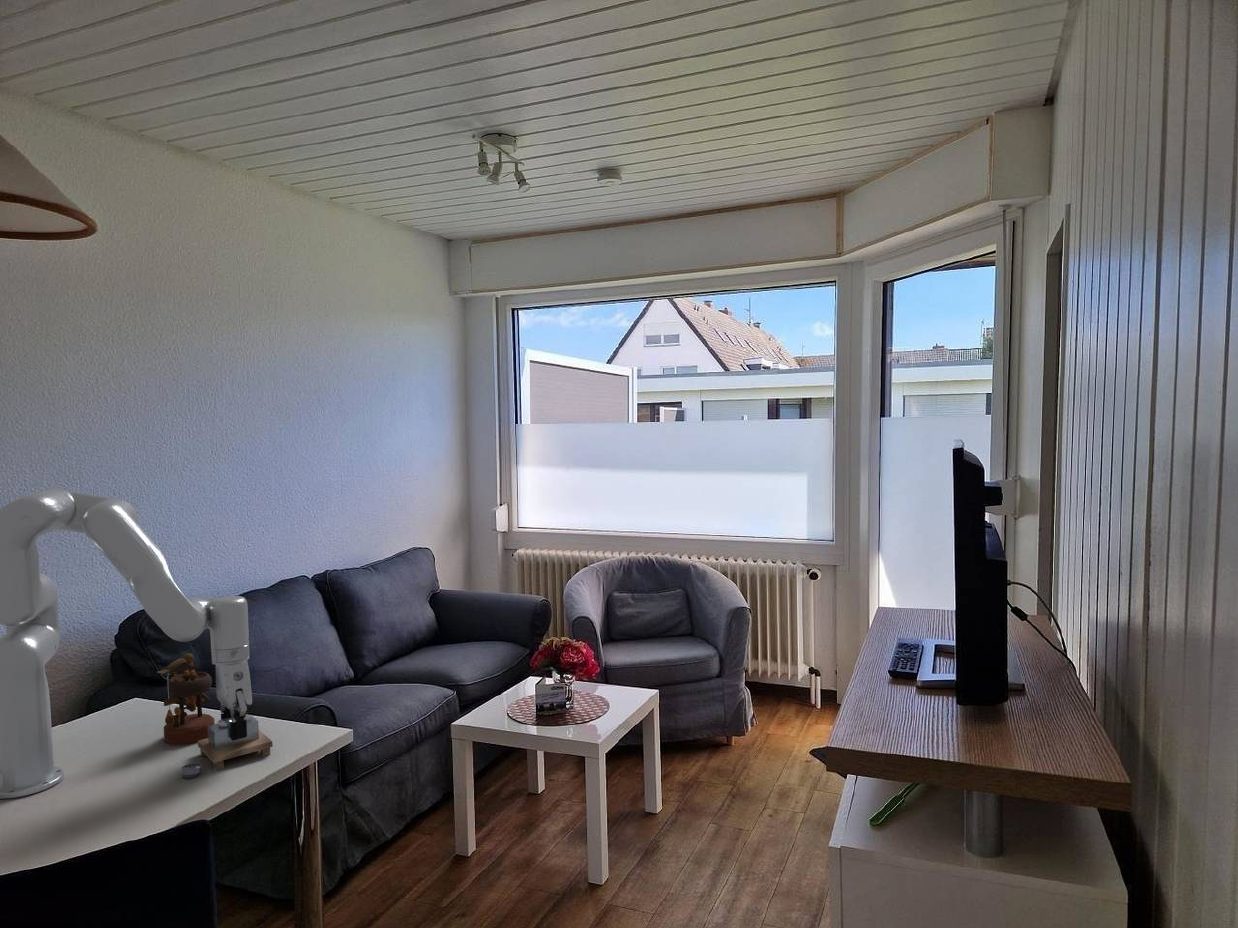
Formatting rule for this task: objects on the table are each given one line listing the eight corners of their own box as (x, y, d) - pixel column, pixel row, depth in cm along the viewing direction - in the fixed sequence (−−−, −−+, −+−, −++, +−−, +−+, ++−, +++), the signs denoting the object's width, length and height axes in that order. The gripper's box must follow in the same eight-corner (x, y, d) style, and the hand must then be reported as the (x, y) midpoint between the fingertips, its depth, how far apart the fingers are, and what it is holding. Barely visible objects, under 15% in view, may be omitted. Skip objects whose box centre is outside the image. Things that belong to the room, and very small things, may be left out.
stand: (213, 771, 169) (213, 757, 169) (198, 753, 178) (197, 740, 178) (272, 754, 177) (272, 741, 177) (254, 738, 186) (254, 726, 186)
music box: (191, 749, 180) (179, 661, 179) (148, 750, 182) (137, 663, 182) (235, 723, 195) (225, 642, 194) (195, 724, 197) (185, 644, 196)
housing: (259, 738, 178) (258, 716, 178) (215, 750, 172) (214, 727, 172) (251, 732, 182) (250, 710, 182) (208, 743, 176) (207, 721, 176)
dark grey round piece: (184, 781, 164) (183, 772, 164) (179, 776, 167) (179, 766, 167) (203, 776, 167) (203, 767, 167) (198, 770, 169) (198, 761, 169)
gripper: (261, 658, 172) (265, 740, 173) (236, 642, 185) (239, 719, 186) (224, 665, 167) (227, 750, 168) (200, 648, 180) (204, 727, 181)
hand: (234, 733), depth 177 cm, fingers open, 6 cm apart
